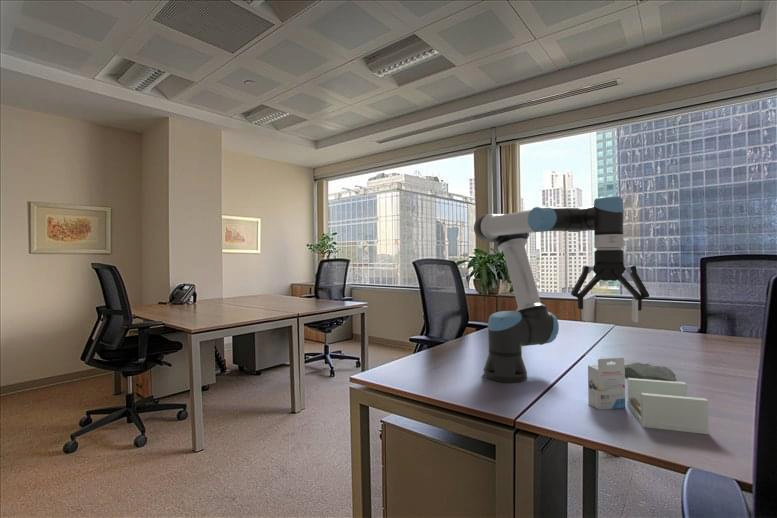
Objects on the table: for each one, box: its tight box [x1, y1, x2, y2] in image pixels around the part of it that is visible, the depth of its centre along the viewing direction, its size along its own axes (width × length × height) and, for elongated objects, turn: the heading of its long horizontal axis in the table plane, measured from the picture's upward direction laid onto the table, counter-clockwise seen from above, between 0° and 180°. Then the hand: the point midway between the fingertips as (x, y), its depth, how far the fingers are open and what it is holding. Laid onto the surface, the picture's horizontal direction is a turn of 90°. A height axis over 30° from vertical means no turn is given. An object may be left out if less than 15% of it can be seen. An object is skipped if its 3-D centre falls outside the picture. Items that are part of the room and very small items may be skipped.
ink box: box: [587, 357, 626, 410], centre depth 113 cm, size 8×5×15 cm, turn 96°
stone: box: [624, 362, 677, 382], centre depth 138 cm, size 18×5×15 cm
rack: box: [626, 377, 710, 435], centre depth 104 cm, size 14×15×8 cm
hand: (608, 321), depth 114 cm, fingers open, 13 cm apart
